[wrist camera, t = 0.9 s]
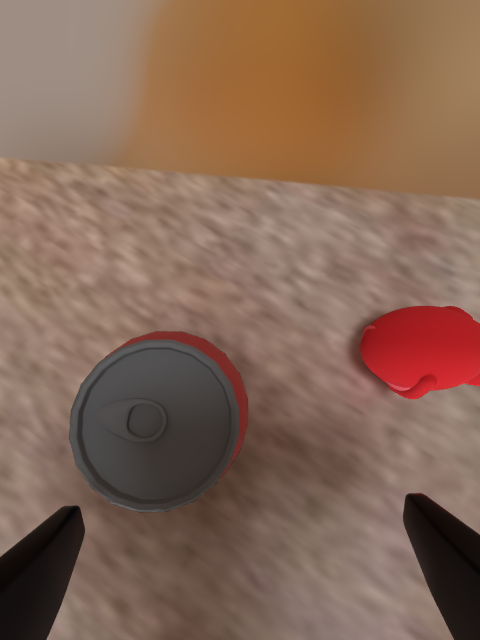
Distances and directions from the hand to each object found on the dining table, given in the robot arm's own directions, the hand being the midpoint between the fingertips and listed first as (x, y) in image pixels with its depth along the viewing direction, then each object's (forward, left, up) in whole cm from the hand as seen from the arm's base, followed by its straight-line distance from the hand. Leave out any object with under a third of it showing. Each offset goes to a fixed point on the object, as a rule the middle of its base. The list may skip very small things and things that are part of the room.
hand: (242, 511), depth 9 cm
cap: (+7, -12, -14) cm, 19 cm away
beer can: (+2, +3, -14) cm, 14 cm away
